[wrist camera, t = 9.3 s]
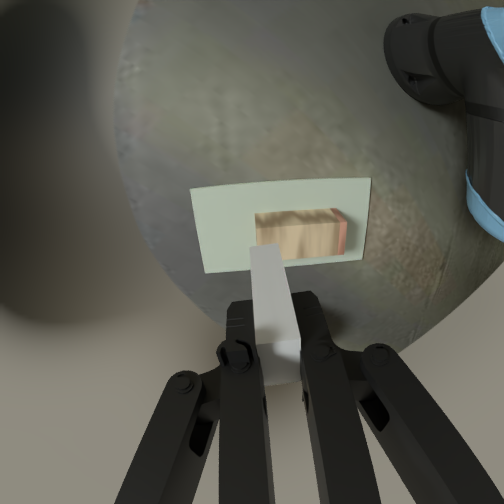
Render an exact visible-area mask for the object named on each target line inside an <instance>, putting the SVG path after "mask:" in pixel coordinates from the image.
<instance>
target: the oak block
mask: <svg viewBox="0 0 504 504" xmlns="http://www.w3.org/2000/svg"><path fill="white" fill-rule="evenodd" d="M254 215H255V228H256V241H257V246H259V245H267V244H274V243H278V245H279V249H280V253H281V257H282V260H290V259H301V258H313V257H324V256H335V255H344V251H345V241H346V230H347V221H346V220H345V219H344V217H343V216H342V215H341V214H340V212H339V211H338V210H337V209H336V208H326V209H309V210H293V211H279V212H266V213H254Z"/></svg>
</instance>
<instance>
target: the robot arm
mask: <svg viewBox="0 0 504 504" xmlns="http://www.w3.org/2000/svg"><path fill="white" fill-rule="evenodd" d="M384 53H385V57H386V61H387V64H388V67H389V69H390V71H391V73H392V75H393V76H394V78H395V80H396V81H397V82H398V84H399V85H400V86H401V87H402V89H403V90H404V91H405V92H407V93H408V94H409V95H410V96H412V97H413V98H415V99H416V100H418V101H420V102H423V103H426V104H433V105H447V104H450V103H453V102H455V101H458V100H461V99H463V98H465V105H466V120H467V149H468V156H467V169H466V180H467V197H466V199H467V205H468V208H469V210H470V212H471V214H472V215H473V217H474V219H475V220H476V222H477V223H478V224H479V225H480V226H481V227H482V228H483V229H484V230H486V231H487V232H488V233H489V234H491V235H492V236H494V237H495V238H497V239H498V240H500V241H502V242H504V8H493V7H484V8H482V9H476V10H470V11H465V12H460V13H455V14H451V15H447V16H443V17H437V16H431V15H425V14H419V13H412V14H406V15H404V16H401V17H398V18H396V19H395V20H393V21H392V22H391V23H390V24H389V26H388V28H387V30H386V32H385V36H384ZM249 248H250V264H251V279H252V295H253V299H252V300H244V301H236V302H232V303H231V304H230V306H229V308H228V310H227V323H226V327H227V328H226V340H225V341H223V342H222V343H221V344H220V345H219V346H218V348H217V351H216V354H217V357H218V359H219V362H220V365H219V366H218V367H217V368H215V369H213V370H211V371H209V372H206V373H203V374H200V375H198V374H197V373H195V372H193V371H181V372H178V373H176V374H174V375H173V376H171V378H170V379H169V380H168V382H167V384H166V387H165V389H164V391H163V393H162V395H161V397H160V399H159V402H158V404H157V406H156V408H155V411H154V413H153V415H152V417H151V419H150V422H149V424H148V426H147V428H146V431H145V433H144V435H143V437H142V440H141V442H140V444H139V447H138V449H137V451H136V453H135V456H134V458H133V460H132V463H131V465H130V467H129V470H128V472H127V475H126V477H125V479H124V481H123V484H122V486H121V489H120V491H119V493H118V496H117V498H116V501H115V503H114V504H192V502H193V499H194V496H195V493H196V490H197V487H198V483H199V480H200V478H201V474H202V471H203V468H204V465H205V462H206V459H207V455H208V453H209V449H210V446H211V443H212V440H213V437H214V434H215V430H216V426H217V424H218V421H219V419H220V427H219V504H275V495H274V484H273V472H272V460H271V449H270V438H269V426H268V415H267V403H266V396H265V390H264V386H269V385H277V384H284V383H291V382H298V381H301V380H302V386H303V396H302V401H304V404H305V410H306V416H307V422H308V428H309V433H310V440H311V446H312V452H313V458H314V464H315V471H316V478H317V484H318V491H319V498H320V504H381V500H380V496H379V491H378V486H377V482H376V478H375V474H374V469H373V465H372V461H371V457H370V454H369V449H368V446H367V442H366V438H365V434H364V431H363V427H362V423H361V420H360V416H359V413H358V409H359V411H360V412H361V414H362V416H363V417H364V419H365V421H366V422H367V424H368V425H369V427H370V429H371V430H372V432H373V434H374V435H375V437H376V438H377V440H378V442H379V443H380V445H381V447H382V448H383V450H384V451H385V453H386V455H387V456H388V458H389V460H390V461H391V463H392V465H393V466H394V468H395V469H396V471H397V473H398V474H399V476H400V477H401V479H402V481H403V483H404V484H405V486H406V488H407V489H408V491H409V492H410V494H411V496H412V497H413V499H414V501H415V502H416V504H504V499H503V498H502V496H501V494H500V492H499V491H498V489H497V487H496V486H495V484H494V483H493V481H492V480H491V478H490V477H489V475H488V474H487V472H486V471H485V469H484V468H483V466H482V465H481V463H480V462H479V460H478V459H477V458H476V456H475V455H474V453H473V452H472V450H471V449H470V448H469V446H468V445H467V443H466V442H465V440H464V439H463V438H462V436H461V435H460V434H459V432H458V431H457V430H456V428H455V427H454V425H453V424H452V423H451V422H450V420H449V419H448V417H447V416H446V415H445V413H444V412H443V411H442V409H441V408H440V407H439V406H438V404H437V403H436V402H435V400H434V399H433V398H432V396H431V395H430V394H429V393H428V391H427V390H426V389H425V388H424V386H423V385H422V384H421V382H420V381H419V380H418V379H417V377H415V375H414V374H413V373H412V372H411V370H410V369H409V368H408V366H407V365H406V364H405V363H404V361H403V360H402V359H401V358H400V357H399V356H398V354H397V353H396V352H395V351H394V350H393V349H392V348H391V347H390V346H388V345H385V344H380V343H376V344H372V345H369V346H368V347H367V348H365V350H364V351H363V352H358V351H348V350H344V349H341V348H339V347H338V346H336V344H335V343H334V342H333V341H332V339H331V336H330V333H329V330H328V327H327V324H326V321H325V318H324V315H323V312H322V309H321V307H320V303H319V300H318V297H317V296H316V295H315V294H314V293H312V292H311V291H305V292H298V293H291V294H290V290H289V286H288V282H287V277H286V273H285V269H284V265H283V261H282V257H281V253H280V249H279V245H278V243H274V244H267V245H259V246H252V247H249ZM357 408H358V409H357Z"/></svg>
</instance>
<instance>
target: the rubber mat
mask: <svg viewBox="0 0 504 504" xmlns="http://www.w3.org/2000/svg"><path fill="white" fill-rule="evenodd" d="M370 186H371V178H370V177H363V178H316V179H294V180H277V181H263V182H250V183H238V184H228V185H218V186H208V187H199V188H191V189H190V192H191V198H192V204H193V210H194V216H195V222H196V227H197V233H198V238H199V244H200V249H201V254H202V259H203V265H204V270H205V273H216V272H228V271H241V270H251V264H250V248H249V247H252V246H257V241H256V228H255V215H254V213H266V212H279V211H293V210H309V209H326V208H336V209H337V210H338V211H339V212H340V214H341V215H342V216H343V217H344V219H345V220H346V221H347V230H346V241H345V251H344V255H335V256H324V257H313V258H301V259H290V260H282V261H283V265H284V267H288V266H299V265H310V264H321V263H331V262H341V261H351V260H361V259H362V257H363V250H364V243H365V235H366V227H367V218H368V209H369V198H370Z"/></svg>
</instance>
